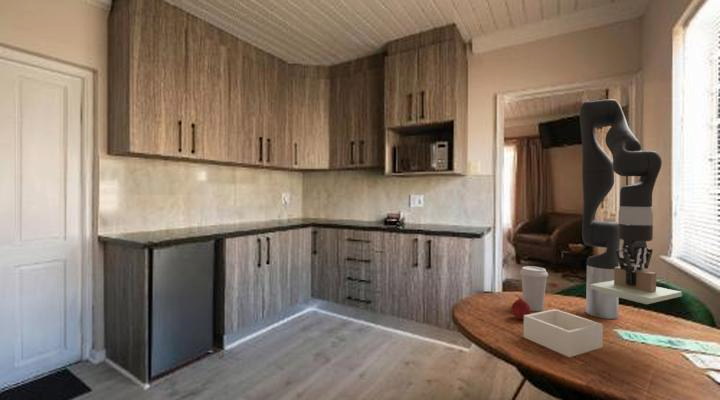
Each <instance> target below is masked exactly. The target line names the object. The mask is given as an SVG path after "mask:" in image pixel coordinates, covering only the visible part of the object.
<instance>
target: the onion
mask: <svg viewBox="0 0 720 400" xmlns="http://www.w3.org/2000/svg"><path fill="white" fill-rule="evenodd" d="M511 313H512V314H513V316H514V317H515V318H516V319H517V320H520V321H524V315H528V314H531V310H530V306H529V305H528V303H527V302H526V301H524V300H523V296H520V297H519V298H518V299H516V300H515V301H514V302H513V303H512V305H511Z"/></svg>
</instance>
